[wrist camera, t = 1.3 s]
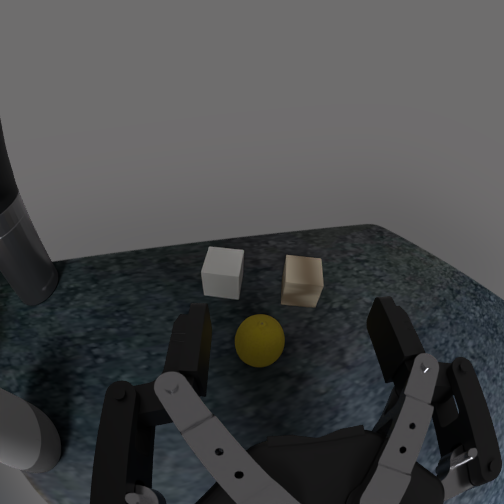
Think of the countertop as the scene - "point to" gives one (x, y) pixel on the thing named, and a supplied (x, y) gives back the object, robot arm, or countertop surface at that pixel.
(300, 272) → the birch block
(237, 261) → the off-white block
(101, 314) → the countertop surface
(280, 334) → the lemon
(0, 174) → the robot arm
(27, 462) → the smart speaker
